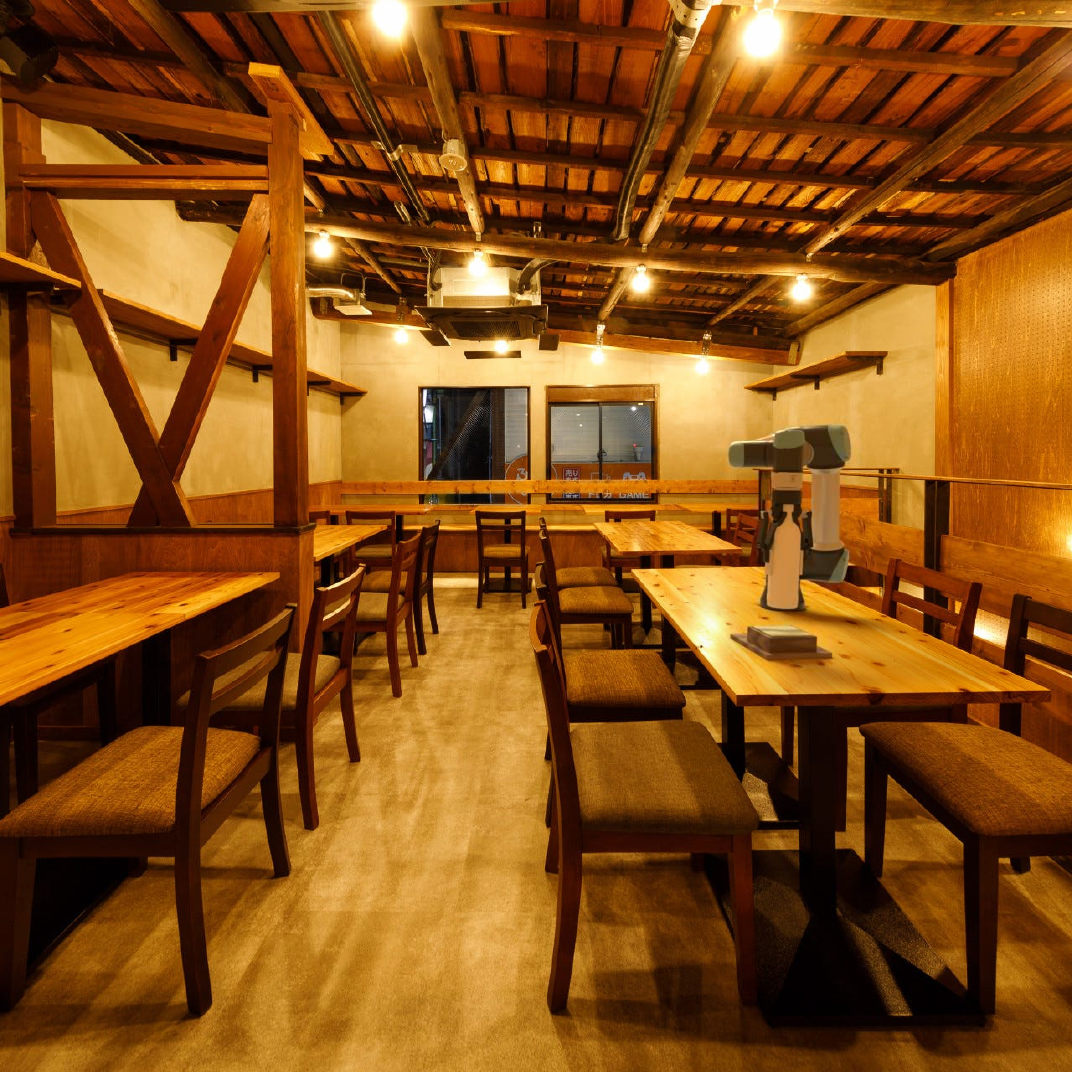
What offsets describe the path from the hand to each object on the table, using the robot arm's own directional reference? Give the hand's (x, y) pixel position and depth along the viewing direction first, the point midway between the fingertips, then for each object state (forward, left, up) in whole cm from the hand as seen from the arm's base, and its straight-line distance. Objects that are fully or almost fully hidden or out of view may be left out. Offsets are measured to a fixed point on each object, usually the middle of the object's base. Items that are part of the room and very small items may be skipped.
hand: (783, 574), depth 169 cm
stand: (-3, +1, -21) cm, 21 cm away
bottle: (0, 0, -9) cm, 9 cm away
